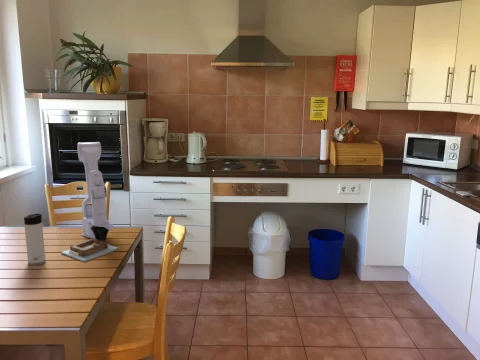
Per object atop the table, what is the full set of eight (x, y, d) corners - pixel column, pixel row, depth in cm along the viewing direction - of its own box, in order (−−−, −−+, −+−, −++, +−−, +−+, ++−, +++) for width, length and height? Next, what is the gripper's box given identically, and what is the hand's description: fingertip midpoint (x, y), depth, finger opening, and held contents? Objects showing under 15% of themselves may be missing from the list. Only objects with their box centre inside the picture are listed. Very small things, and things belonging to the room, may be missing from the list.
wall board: (61, 253, 175) (61, 249, 174) (95, 242, 189) (95, 238, 188) (84, 262, 167) (83, 257, 166) (117, 249, 181) (117, 244, 180)
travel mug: (39, 266, 162) (35, 217, 158) (24, 265, 163) (19, 216, 159) (49, 260, 168) (45, 212, 164) (35, 259, 169) (30, 211, 165)
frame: (70, 251, 174) (69, 244, 174) (94, 243, 184) (93, 236, 183) (84, 256, 169) (83, 248, 169) (107, 247, 179) (107, 240, 179)
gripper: (118, 213, 180) (119, 242, 183) (95, 207, 188) (97, 236, 191) (104, 217, 174) (106, 247, 177) (82, 211, 182) (84, 240, 185)
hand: (101, 242), depth 183 cm, fingers closed on frame, 2 cm apart
